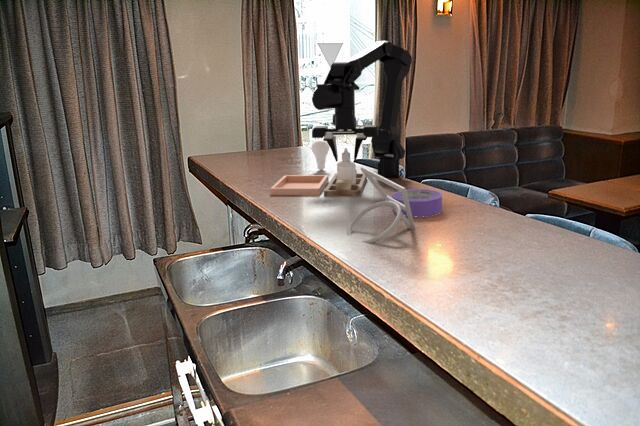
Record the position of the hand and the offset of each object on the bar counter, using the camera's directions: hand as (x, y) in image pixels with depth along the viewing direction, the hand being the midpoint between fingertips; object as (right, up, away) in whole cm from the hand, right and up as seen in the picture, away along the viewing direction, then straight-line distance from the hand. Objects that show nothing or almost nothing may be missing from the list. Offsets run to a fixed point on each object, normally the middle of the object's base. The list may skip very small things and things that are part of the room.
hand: (346, 161), depth 154 cm
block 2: (+2, -6, +10) cm, 12 cm away
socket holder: (0, -8, +2) cm, 8 cm away
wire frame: (+8, -23, -41) cm, 48 cm away
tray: (-13, -8, +3) cm, 16 cm away
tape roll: (+16, -16, -26) cm, 35 cm away
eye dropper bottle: (0, -8, +2) cm, 8 cm away
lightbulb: (-7, 0, +30) cm, 31 cm away
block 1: (-1, -10, -5) cm, 12 cm away
